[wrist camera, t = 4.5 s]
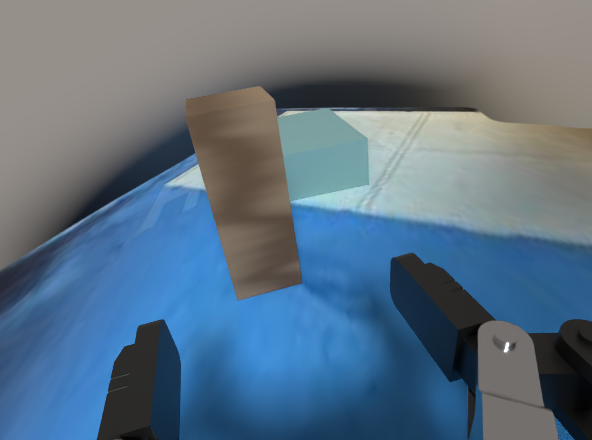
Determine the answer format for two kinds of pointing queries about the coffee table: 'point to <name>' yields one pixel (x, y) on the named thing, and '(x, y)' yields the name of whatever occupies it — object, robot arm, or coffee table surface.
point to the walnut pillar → (246, 187)
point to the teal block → (322, 154)
